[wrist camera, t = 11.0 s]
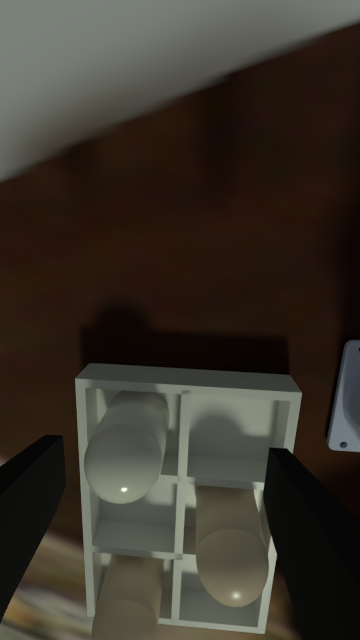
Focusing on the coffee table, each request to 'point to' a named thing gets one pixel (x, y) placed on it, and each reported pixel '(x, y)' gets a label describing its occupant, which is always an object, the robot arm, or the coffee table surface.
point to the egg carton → (187, 503)
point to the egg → (128, 447)
